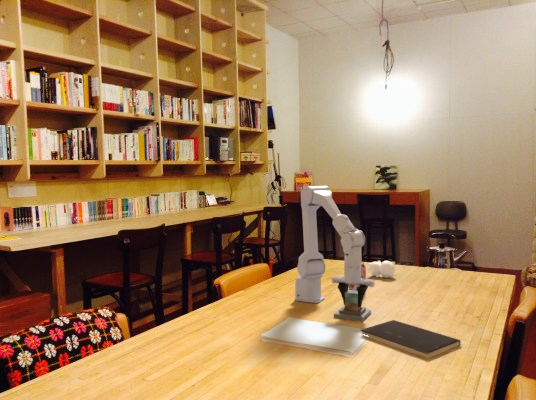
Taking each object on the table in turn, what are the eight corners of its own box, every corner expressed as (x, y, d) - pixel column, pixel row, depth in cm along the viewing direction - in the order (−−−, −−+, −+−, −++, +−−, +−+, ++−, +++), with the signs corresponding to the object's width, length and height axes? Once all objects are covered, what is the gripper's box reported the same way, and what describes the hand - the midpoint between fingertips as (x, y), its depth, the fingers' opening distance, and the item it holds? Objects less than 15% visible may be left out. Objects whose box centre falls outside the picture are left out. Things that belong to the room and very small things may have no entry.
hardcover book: (426, 361, 125) (427, 352, 125) (360, 337, 143) (360, 329, 143) (460, 347, 135) (460, 339, 134) (394, 326, 153) (394, 319, 153)
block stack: (344, 311, 162) (344, 292, 162) (348, 308, 166) (348, 290, 166) (357, 312, 160) (357, 294, 160) (361, 309, 164) (361, 291, 164)
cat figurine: (368, 256, 223) (394, 257, 218) (373, 265, 232) (398, 266, 226) (366, 273, 219) (392, 275, 214) (371, 282, 228) (396, 283, 222)
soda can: (361, 294, 190) (361, 265, 190) (345, 292, 195) (345, 263, 194) (368, 291, 196) (368, 262, 195) (353, 288, 200) (353, 260, 200)
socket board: (333, 317, 161) (333, 310, 161) (343, 309, 170) (343, 303, 170) (362, 321, 156) (362, 314, 156) (370, 313, 165) (370, 307, 165)
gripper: (328, 266, 162) (328, 305, 163) (370, 270, 155) (370, 311, 156) (335, 262, 168) (335, 300, 169) (376, 266, 162) (375, 305, 162)
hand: (352, 305), depth 163 cm, fingers closed on block stack, 4 cm apart
